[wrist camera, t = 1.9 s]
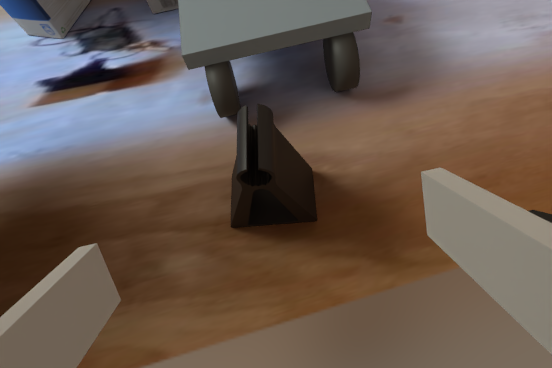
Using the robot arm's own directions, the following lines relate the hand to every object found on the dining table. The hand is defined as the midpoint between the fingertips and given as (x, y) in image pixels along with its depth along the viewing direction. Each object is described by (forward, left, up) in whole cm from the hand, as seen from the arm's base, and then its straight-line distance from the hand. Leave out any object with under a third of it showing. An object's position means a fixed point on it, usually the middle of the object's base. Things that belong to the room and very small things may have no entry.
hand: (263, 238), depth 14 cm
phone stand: (0, +11, -20) cm, 23 cm away
